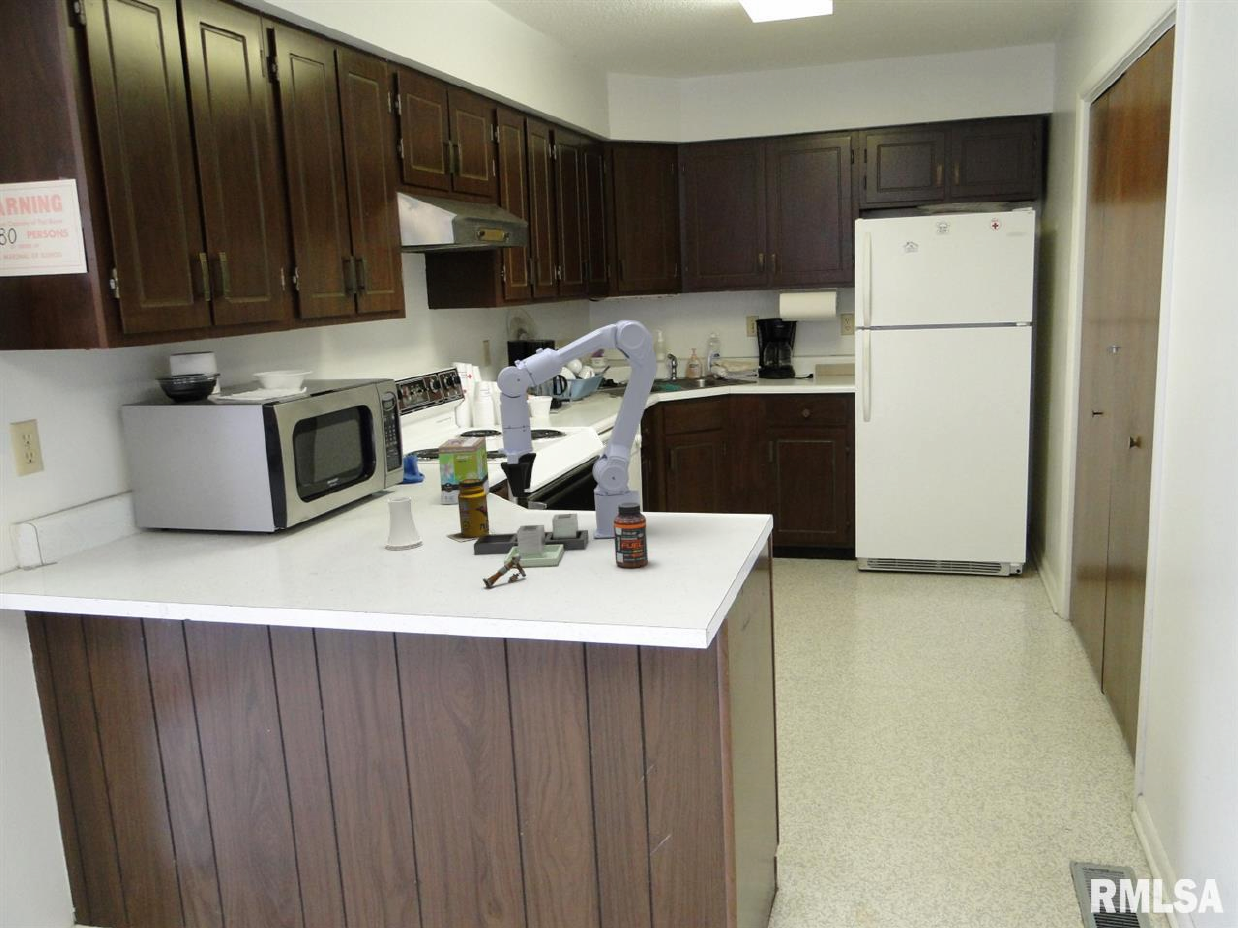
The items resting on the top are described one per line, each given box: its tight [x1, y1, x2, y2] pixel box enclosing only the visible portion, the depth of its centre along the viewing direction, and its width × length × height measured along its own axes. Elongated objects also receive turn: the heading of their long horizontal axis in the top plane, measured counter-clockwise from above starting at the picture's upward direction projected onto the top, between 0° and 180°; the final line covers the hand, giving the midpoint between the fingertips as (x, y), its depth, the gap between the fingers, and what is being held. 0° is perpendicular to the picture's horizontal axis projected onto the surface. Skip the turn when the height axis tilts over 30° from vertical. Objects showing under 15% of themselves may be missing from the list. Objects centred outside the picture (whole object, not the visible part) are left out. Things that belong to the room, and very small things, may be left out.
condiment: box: [446, 479, 496, 543], centre depth 211 cm, size 7×8×12 cm
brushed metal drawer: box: [551, 513, 579, 540], centre depth 198 cm, size 4×4×6 cm
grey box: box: [516, 524, 546, 559], centre depth 189 cm, size 4×4×6 cm
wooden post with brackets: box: [482, 555, 527, 589], centre depth 175 cm, size 2×8×4 cm, turn 128°
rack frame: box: [473, 529, 589, 555], centre depth 199 cm, size 22×8×2 cm, turn 86°
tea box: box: [438, 436, 490, 505], centre depth 252 cm, size 15×10×15 cm
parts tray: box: [503, 545, 565, 569], centre depth 189 cm, size 10×10×2 cm
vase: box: [384, 496, 423, 551], centre depth 206 cm, size 8×8×10 cm
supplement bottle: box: [614, 502, 649, 569], centre depth 181 cm, size 6×6×11 cm
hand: (521, 492), depth 201 cm, fingers open, 7 cm apart
